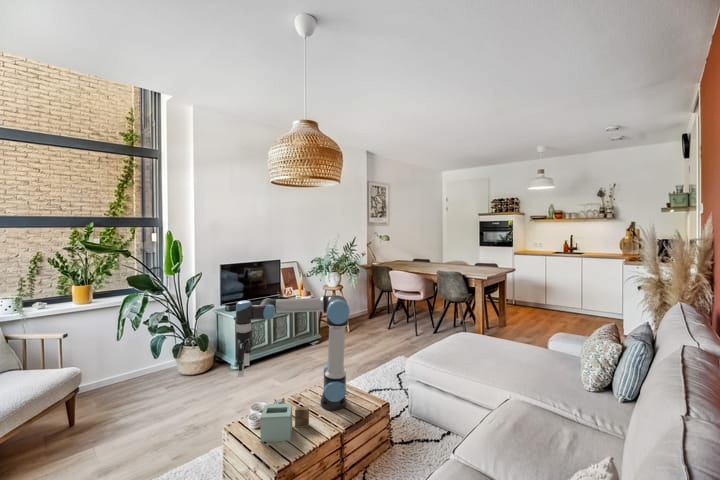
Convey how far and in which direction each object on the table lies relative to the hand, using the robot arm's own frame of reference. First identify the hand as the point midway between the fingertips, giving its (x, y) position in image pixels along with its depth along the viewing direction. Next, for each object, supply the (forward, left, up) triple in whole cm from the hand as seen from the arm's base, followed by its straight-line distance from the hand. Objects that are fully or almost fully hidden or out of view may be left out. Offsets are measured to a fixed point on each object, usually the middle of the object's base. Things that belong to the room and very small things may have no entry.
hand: (244, 370), depth 183 cm
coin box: (-19, +13, -27) cm, 35 cm away
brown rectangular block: (-31, +6, -27) cm, 41 cm away
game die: (-18, -6, -27) cm, 33 cm away
